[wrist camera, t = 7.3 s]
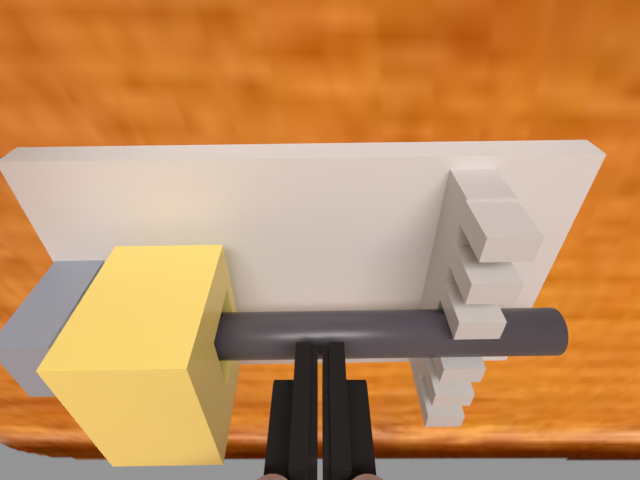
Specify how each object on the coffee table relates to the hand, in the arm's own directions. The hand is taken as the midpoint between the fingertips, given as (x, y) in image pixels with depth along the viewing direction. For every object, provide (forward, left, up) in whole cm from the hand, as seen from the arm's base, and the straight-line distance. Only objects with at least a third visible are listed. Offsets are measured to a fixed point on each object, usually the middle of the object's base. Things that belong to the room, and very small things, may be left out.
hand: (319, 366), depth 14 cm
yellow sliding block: (+6, 0, -3) cm, 6 cm away
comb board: (+1, 0, -6) cm, 6 cm away
